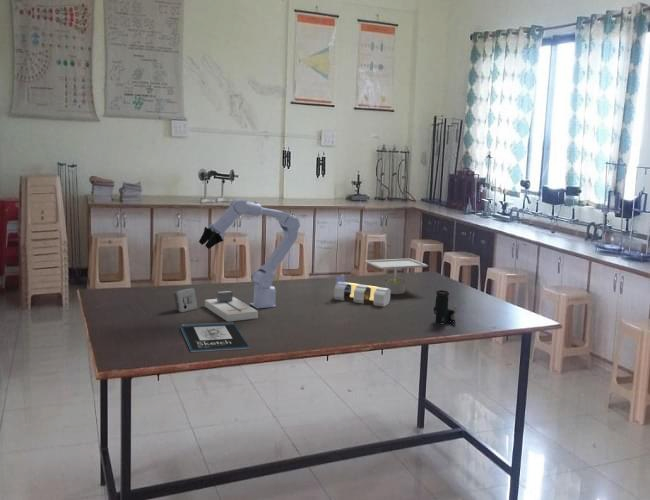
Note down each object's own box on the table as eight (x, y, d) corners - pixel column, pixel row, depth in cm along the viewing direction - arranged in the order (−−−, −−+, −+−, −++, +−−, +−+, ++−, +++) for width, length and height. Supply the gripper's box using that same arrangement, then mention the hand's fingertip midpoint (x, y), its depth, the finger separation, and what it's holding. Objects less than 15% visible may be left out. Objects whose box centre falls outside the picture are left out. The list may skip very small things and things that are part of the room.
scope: (459, 292, 293) (444, 295, 287) (456, 323, 296) (441, 326, 289) (445, 288, 299) (429, 290, 293) (442, 318, 302) (427, 321, 295)
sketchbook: (190, 354, 242) (191, 348, 241) (180, 328, 269) (180, 323, 269) (250, 350, 249) (250, 344, 248) (233, 325, 276) (233, 320, 276)
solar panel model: (408, 285, 360) (410, 258, 358) (425, 293, 345) (428, 265, 342) (362, 288, 349) (364, 260, 346) (378, 297, 333) (380, 267, 331)
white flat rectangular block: (233, 303, 308) (234, 296, 307) (258, 318, 287) (258, 311, 286) (204, 306, 301) (205, 299, 300) (227, 321, 280) (227, 314, 279)
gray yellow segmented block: (333, 300, 325) (335, 273, 322) (341, 295, 334) (342, 269, 332) (383, 307, 315) (385, 280, 313) (389, 303, 325) (391, 276, 322)
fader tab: (229, 299, 302) (229, 290, 301) (232, 301, 299) (232, 292, 299) (216, 300, 299) (217, 291, 298) (219, 302, 296) (219, 293, 295)
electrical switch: (180, 313, 289) (179, 291, 287) (173, 311, 292) (172, 290, 291) (197, 309, 296) (196, 288, 295) (190, 307, 299) (189, 287, 298)
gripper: (212, 212, 295) (191, 235, 292) (225, 219, 283) (203, 243, 280) (223, 223, 298) (202, 246, 296) (236, 229, 286) (214, 253, 284)
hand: (203, 245), depth 288 cm, fingers open, 7 cm apart
